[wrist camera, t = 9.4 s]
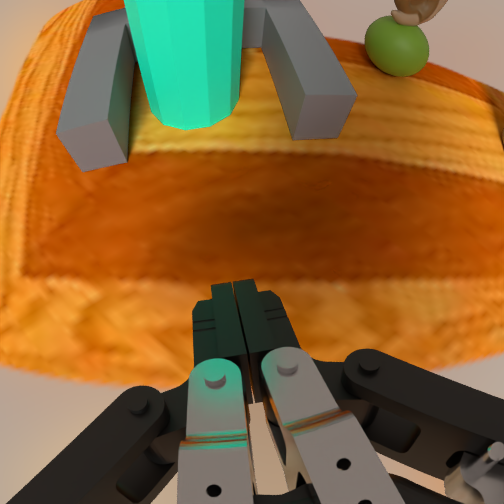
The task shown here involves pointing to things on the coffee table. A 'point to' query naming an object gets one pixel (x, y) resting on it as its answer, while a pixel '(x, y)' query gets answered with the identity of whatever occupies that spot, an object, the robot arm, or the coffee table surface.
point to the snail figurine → (401, 37)
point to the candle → (188, 58)
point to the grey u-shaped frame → (254, 35)
